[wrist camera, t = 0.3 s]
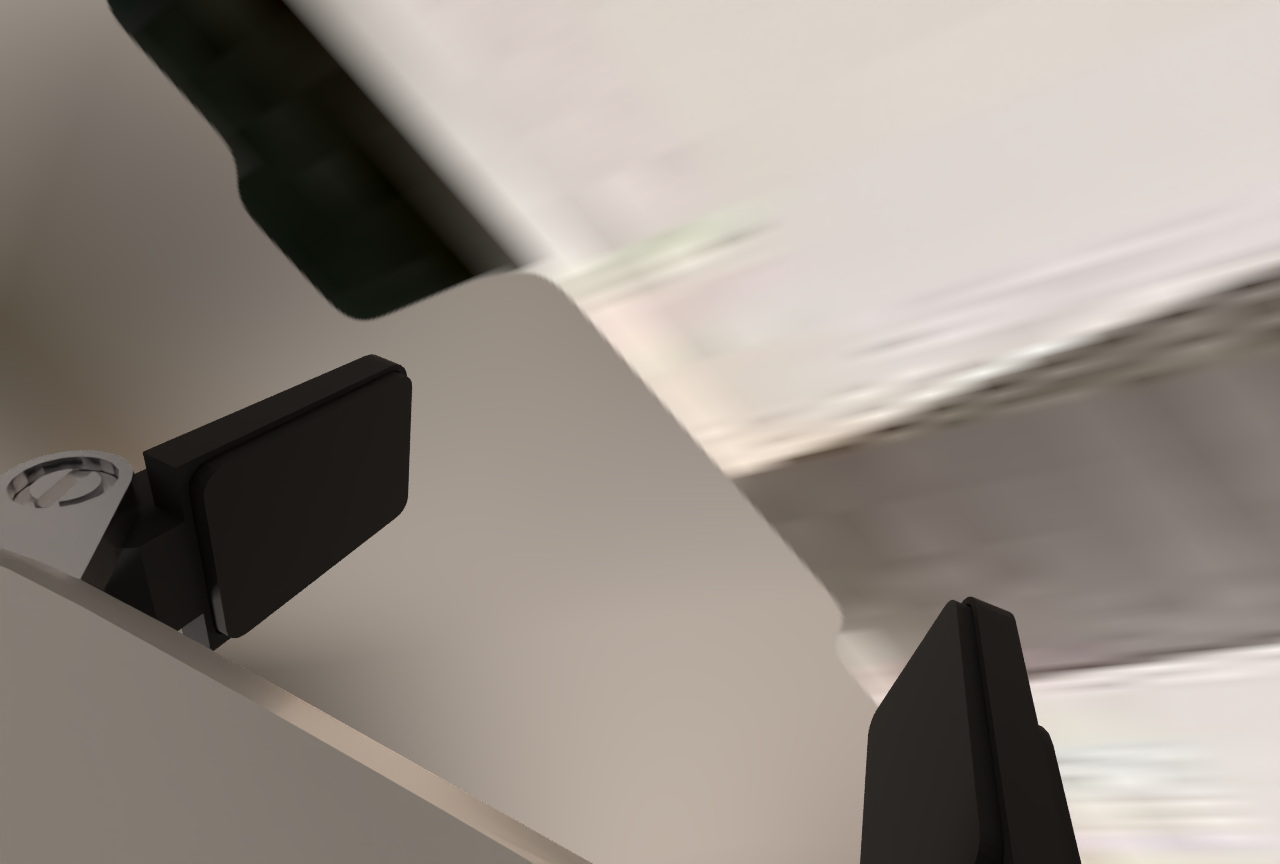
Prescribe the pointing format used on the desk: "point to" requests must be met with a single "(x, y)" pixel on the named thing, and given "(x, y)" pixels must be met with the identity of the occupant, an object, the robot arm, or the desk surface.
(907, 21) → the desk surface
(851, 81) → the desk surface
